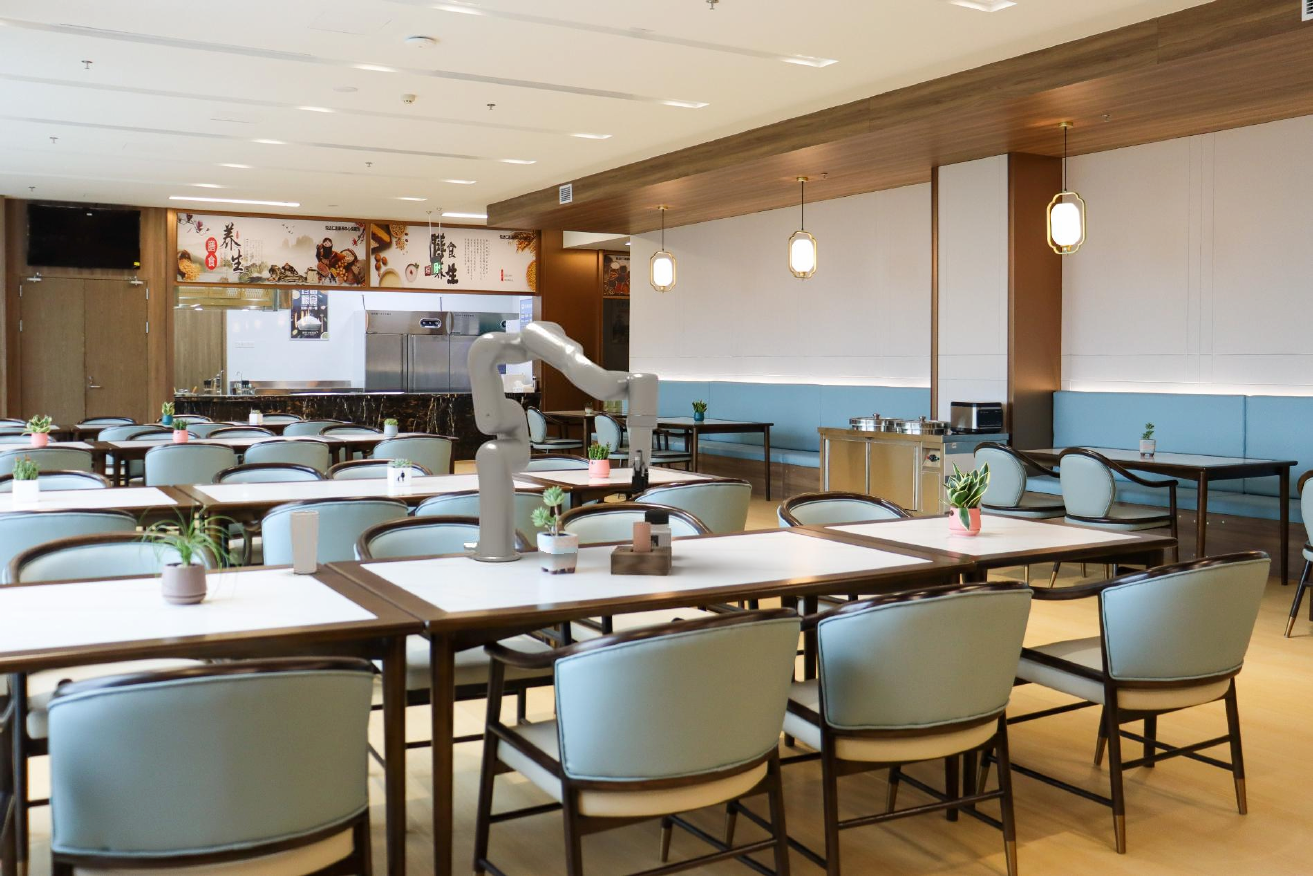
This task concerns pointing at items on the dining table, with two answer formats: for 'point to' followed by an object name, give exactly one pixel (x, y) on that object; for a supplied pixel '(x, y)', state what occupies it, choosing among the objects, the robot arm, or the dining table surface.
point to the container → (659, 527)
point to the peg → (641, 537)
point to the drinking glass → (304, 540)
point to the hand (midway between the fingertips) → (640, 490)
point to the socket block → (641, 561)
